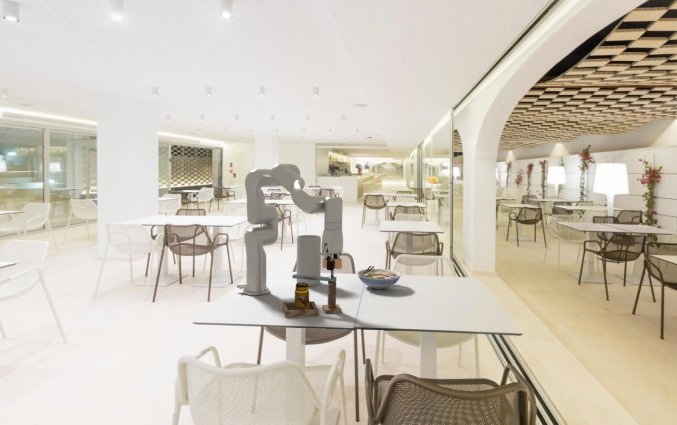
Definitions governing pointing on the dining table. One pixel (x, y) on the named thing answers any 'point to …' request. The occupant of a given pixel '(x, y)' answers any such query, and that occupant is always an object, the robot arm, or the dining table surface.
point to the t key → (330, 279)
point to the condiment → (301, 297)
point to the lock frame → (329, 308)
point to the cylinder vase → (309, 257)
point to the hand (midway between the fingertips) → (332, 269)
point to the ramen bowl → (378, 277)
